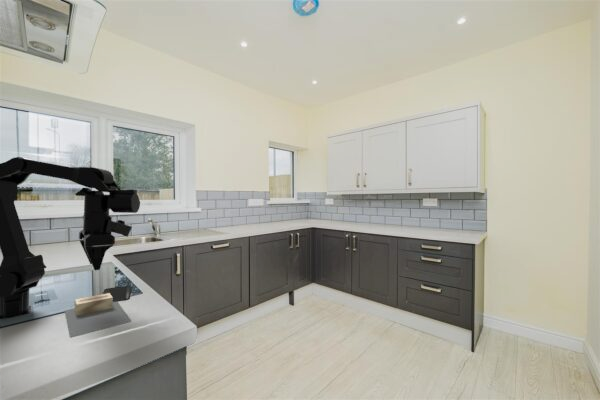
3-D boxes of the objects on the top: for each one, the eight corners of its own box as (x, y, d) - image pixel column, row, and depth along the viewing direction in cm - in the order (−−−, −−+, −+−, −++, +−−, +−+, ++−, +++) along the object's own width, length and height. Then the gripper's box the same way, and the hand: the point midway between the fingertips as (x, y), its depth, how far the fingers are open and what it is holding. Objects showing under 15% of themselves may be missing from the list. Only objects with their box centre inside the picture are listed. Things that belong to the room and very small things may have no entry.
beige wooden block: (76, 315, 70) (76, 304, 70) (74, 310, 73) (74, 299, 73) (112, 307, 75) (112, 297, 75) (109, 302, 79) (109, 292, 79)
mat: (64, 312, 73) (64, 310, 73) (116, 301, 81) (116, 299, 81) (69, 339, 59) (69, 337, 59) (131, 323, 67) (131, 321, 67)
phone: (131, 285, 95) (129, 298, 82) (131, 288, 95) (129, 302, 82) (104, 288, 91) (97, 303, 78) (104, 292, 91) (97, 307, 78)
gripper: (137, 213, 74) (135, 268, 73) (123, 211, 87) (121, 257, 87) (86, 213, 66) (84, 275, 66) (79, 211, 79) (77, 262, 79)
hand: (94, 266), depth 74 cm, fingers open, 9 cm apart
